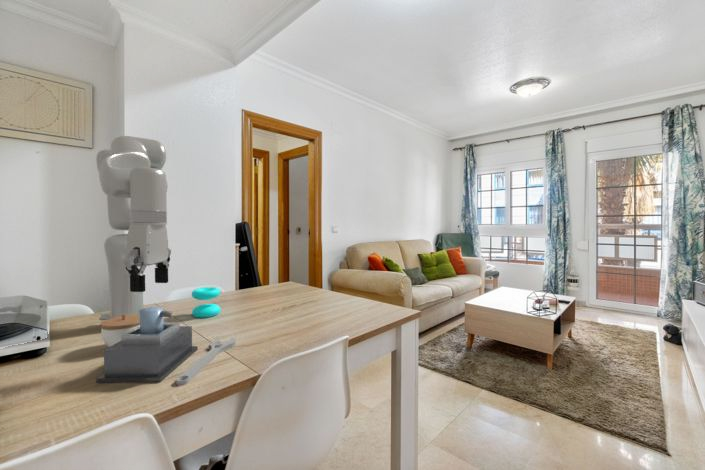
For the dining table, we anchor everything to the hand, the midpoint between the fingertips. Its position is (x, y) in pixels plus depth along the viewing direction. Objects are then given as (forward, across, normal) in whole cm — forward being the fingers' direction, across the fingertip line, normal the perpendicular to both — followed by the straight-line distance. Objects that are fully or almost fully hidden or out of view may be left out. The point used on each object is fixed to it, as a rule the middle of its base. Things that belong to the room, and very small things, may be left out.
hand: (150, 286), depth 79 cm
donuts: (+21, -42, -4) cm, 47 cm away
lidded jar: (+20, -11, -14) cm, 27 cm away
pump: (+13, +1, +2) cm, 13 cm away
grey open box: (+20, +1, +1) cm, 20 cm away
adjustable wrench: (+20, -2, +13) cm, 24 cm away
